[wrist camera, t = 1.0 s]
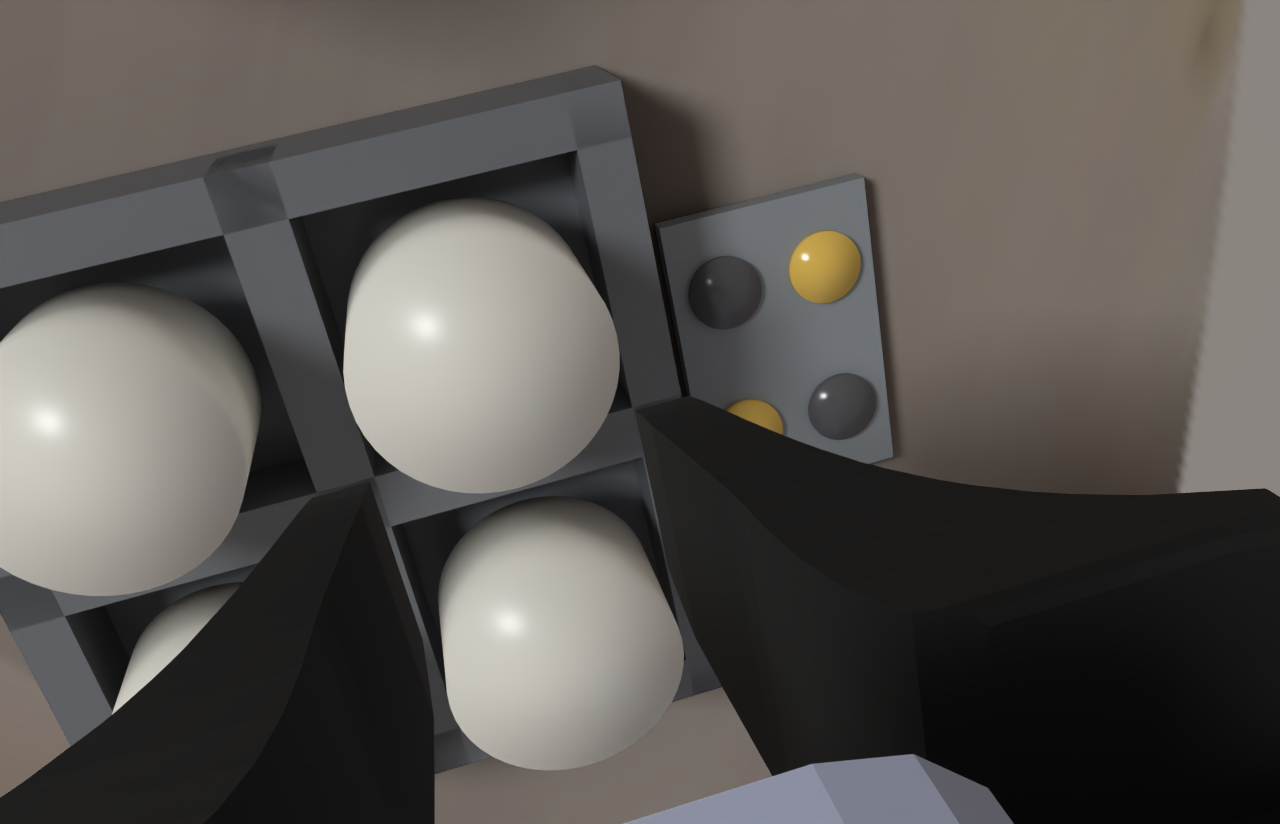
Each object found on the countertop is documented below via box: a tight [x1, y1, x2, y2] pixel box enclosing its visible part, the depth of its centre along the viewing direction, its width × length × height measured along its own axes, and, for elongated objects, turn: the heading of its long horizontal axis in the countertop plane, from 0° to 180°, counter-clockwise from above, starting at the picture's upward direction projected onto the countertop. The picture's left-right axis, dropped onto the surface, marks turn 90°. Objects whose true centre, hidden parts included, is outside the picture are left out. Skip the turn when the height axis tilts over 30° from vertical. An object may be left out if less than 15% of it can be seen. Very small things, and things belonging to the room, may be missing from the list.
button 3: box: [343, 196, 620, 494], centre depth 17 cm, size 4×4×3 cm
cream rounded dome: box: [438, 496, 684, 770], centre depth 20 cm, size 4×4×3 cm
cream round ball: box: [112, 582, 243, 714], centre depth 19 cm, size 4×4×3 cm
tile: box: [654, 173, 893, 464], centre depth 22 cm, size 6×4×1 cm, turn 11°
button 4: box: [0, 282, 261, 596], centre depth 17 cm, size 4×4×3 cm
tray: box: [0, 65, 722, 774], centre depth 20 cm, size 12×12×2 cm
